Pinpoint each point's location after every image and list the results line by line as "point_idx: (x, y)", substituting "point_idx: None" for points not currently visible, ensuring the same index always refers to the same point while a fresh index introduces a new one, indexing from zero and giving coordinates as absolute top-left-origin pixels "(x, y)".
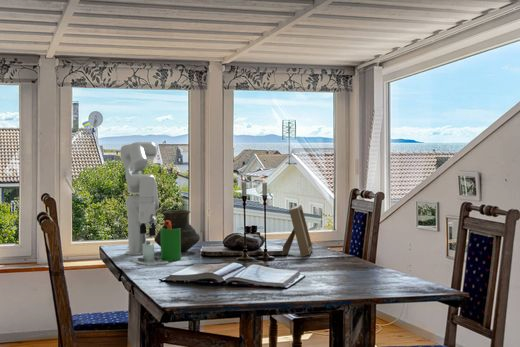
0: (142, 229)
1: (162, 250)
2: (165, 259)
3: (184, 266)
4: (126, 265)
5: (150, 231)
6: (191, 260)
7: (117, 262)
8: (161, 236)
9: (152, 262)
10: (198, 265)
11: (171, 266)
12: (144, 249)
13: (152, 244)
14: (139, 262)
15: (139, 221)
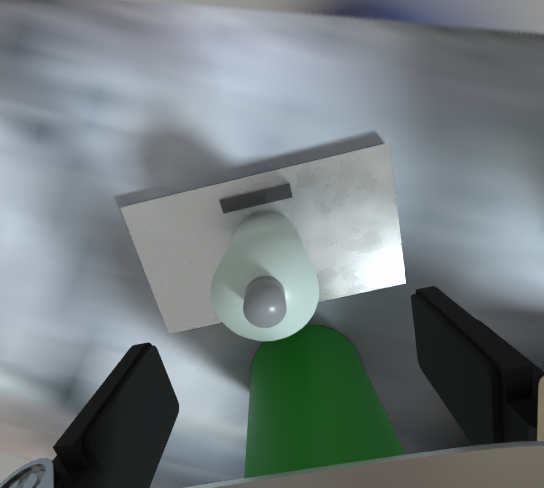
0: (448, 355)
1: (293, 367)
2: (268, 342)
3: (31, 368)
4: (192, 74)
5: (107, 401)
6: (217, 440)
7: (366, 43)
8: (323, 464)
9: (154, 244)
10: (44, 427)
11: (51, 315)
12: (239, 237)
13: (221, 320)
14: (235, 179)
15: (537, 464)
